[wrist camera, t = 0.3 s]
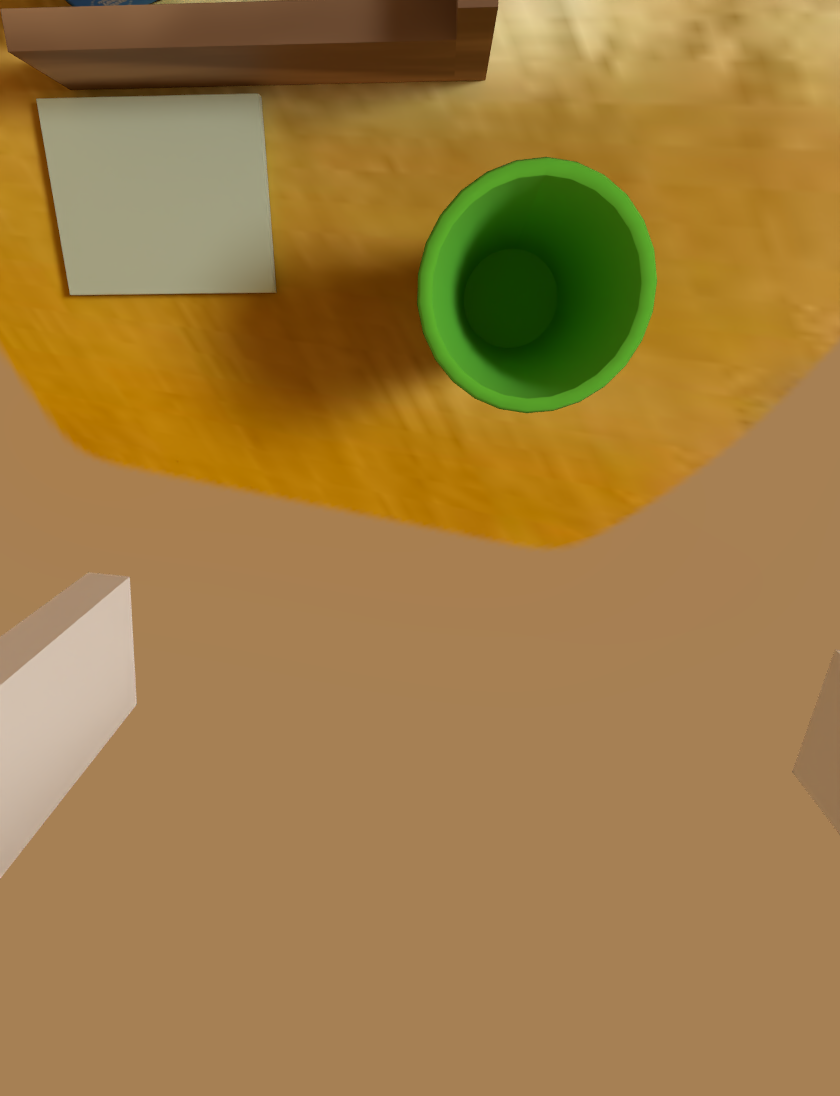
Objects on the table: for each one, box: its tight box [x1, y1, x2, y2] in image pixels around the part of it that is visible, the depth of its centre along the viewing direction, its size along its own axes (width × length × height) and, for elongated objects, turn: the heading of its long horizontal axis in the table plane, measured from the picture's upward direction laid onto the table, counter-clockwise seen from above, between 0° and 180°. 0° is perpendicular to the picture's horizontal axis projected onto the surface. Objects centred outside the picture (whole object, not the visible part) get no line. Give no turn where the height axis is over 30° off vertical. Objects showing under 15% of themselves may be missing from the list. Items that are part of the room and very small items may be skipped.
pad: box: [36, 93, 276, 295], centre depth 34 cm, size 9×11×1 cm
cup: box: [417, 157, 657, 413], centre depth 30 cm, size 9×9×11 cm
